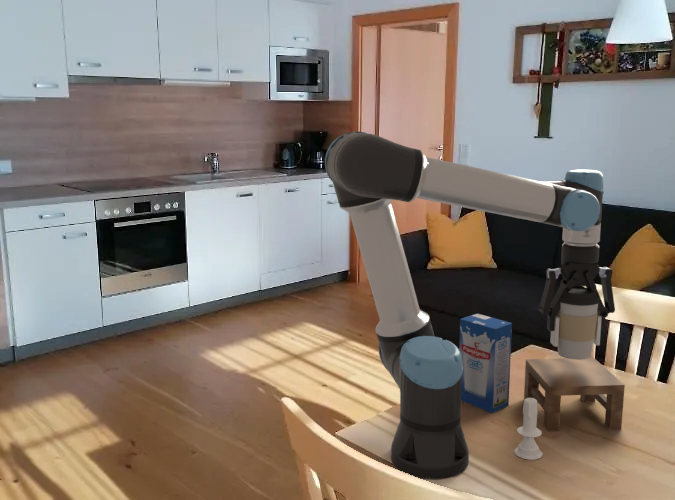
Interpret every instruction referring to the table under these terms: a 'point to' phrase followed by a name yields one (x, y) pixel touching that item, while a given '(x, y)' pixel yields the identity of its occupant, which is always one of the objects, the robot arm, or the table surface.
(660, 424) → the table surface
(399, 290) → the robot arm
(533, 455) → the candle
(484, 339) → the milk carton
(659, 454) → the table surface
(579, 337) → the coffee cup
